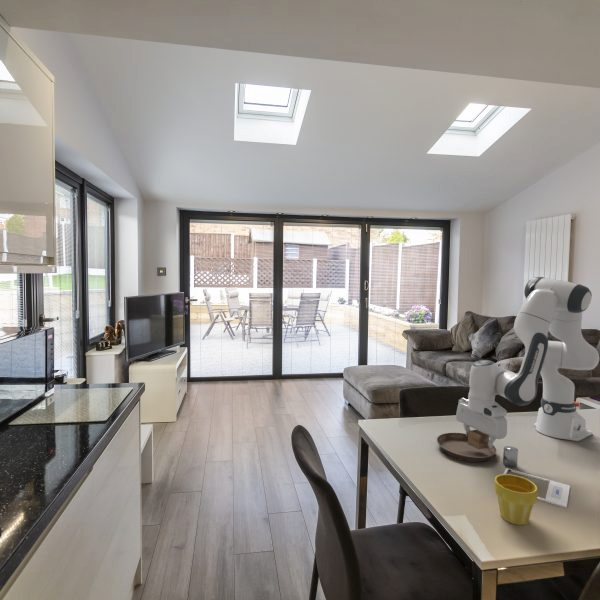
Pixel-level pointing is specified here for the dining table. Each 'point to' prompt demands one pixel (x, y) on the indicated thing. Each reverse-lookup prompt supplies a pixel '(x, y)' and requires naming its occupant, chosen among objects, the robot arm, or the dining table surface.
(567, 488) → the photo frame
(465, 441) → the plant saucer
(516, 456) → the grey metal peg
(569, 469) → the dining table surface
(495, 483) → the plant pot
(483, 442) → the walnut block
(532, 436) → the dining table surface
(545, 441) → the dining table surface
